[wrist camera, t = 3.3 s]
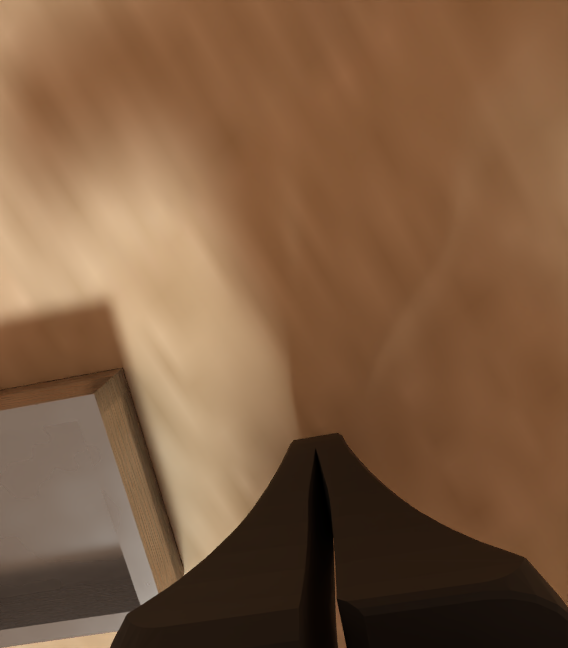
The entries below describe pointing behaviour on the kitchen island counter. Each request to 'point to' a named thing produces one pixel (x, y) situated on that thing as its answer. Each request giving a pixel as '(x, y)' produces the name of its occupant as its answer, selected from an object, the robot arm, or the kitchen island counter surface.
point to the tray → (77, 511)
